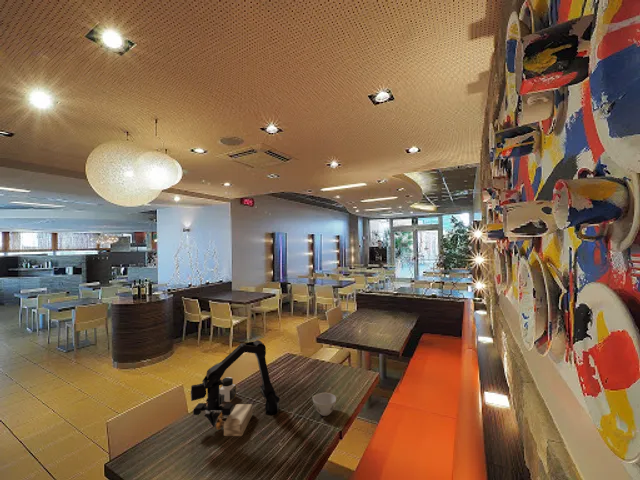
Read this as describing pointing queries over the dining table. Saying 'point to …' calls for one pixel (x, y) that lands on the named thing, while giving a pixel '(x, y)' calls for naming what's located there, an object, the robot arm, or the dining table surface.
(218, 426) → the knob outer
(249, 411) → the beech block
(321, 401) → the teacup
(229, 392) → the medicine bottle
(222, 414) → the knob inner
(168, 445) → the dining table surface
